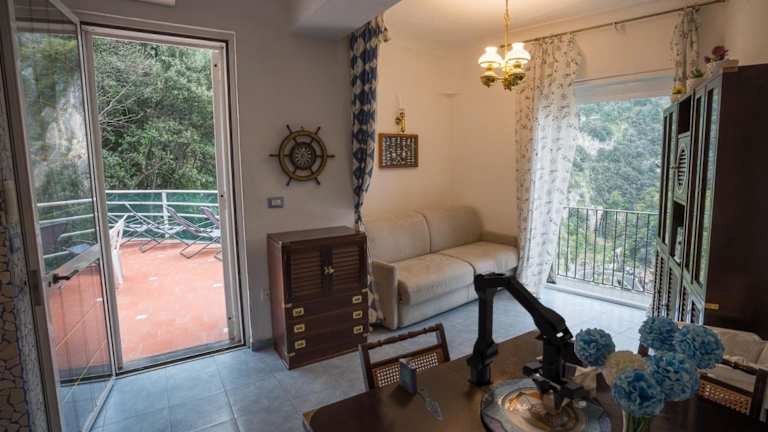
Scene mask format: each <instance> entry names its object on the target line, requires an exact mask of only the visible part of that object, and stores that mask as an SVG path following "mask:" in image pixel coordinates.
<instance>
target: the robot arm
mask: <svg viewBox="0 0 768 432" xmlns="http://www.w3.org/2000/svg"><path fill="white" fill-rule="evenodd" d="M473 287H474V289H473V290H474V291H475V293H476V295H477V297H478V298H477V299H478V305H477V306H478V307H477V309H478V310H477V311H478V312H477V313H478V315H477V337H476V340H475V342H474V344H473V348H472V352H471V353H472V355H470V356H469V357H468V358H466V359H465V362H466V365H467V367H469V368H470V369H469V370H470V377H467V380H468V381H469V382H471V383H472V384H474V385H475V386H477V387H479V388H480V387H481V388H482V387H483V386H484V387H485V386H487V385H491V384H493V383H494V380H493V379H492V367H491V364H492V363H494V360H495V359H496V358H497V357H498V355H499V354H500V353H499V346H500V344H499V343H498V342H496V341H495V340H494V338H493V334H494V333H493V332H494V331H493V328H494V327H493V326H494V324H493V323H494V321H493V320H494V298H495V295H496V294H497V291H498V289H499V288H501V289H502V288H503V289H505V291H507V292H508V293H509V294H510V296H511V297H513V298H514V299H515V301H517V302H518V304H519V305H520V306H521V307H522V308H523V309H524V310H525V311H526V312H527V313H528V314H529V315H530V316H531V318H532V320H533V324H534V325H535V327H536V328H537V330H538V331H539V334H538V335H536V336H535V337H534V339H535V340H537V341H540V342H541V356H542V358H541V359H539V363H541V364H542V365H541V364H539V363H537V361H533V362H532V361H531V362H529V363H526V364H524V365H523V366H522V374H523V375H524V376H526V377H528V378H530V377H532V376H533V378H531V381H532V383H534V385H535V387H536V388H537V390H538V392H539V394H540V396H541V398H542V399H543V397H544V394H545V393H547V392H548V391H550V386H549V384H550V382H551V383H553V384H555V385H557V386H558V388H557V387H556V389H554V390H552V392H553V397H554V403H555V407H556V410H560V408H561V405H562V403H563V401H564V399H565V397H566V398H568V399H570V400H571V401H572V400H575V399H578V398H582V397H584V396H585V395H586V389H585V387H584V386H583V385H581V384H579V383H577V382H575V381H570V382H568V381H563V378H565V379H566V378H568V376H573V377H575V374H576V370H577V366H579V367H582V368H585V369H586V368H588V367H589V365H587V364H585V363H584V362H582V361H581V360H579V358H578V357H577V355H576V354H575V352H574V341H575V340H573V339H574V338H575V336H574V335H573V333H572V332H571V330H570V329H569V327H568V326H567V324H566V322H567V321H566V319H565V318H564V317H563V316H562V315H561V314H560V313H558V312H557V311H555V310H554V309H553V308H550V307H548V306H546V305H544V304H543V303H542V302H541V301H540V300H539V299H538V298H537V297H536V296H535V295H533V293H532V292H531V291H529V289H528V288H527V287H525V286H524V285H523V284H522V283H521V281H519V279H518V278H517V276H516V275H515V274H513V273H504V272H496V271H493V270H486V271H483V272H479V273H477V274H476V275H475V276H474V277H473ZM559 334H562V335H560V336H558V335H559ZM575 365H576V366H575Z"/></svg>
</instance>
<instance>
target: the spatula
mask: <svg viewBox="0 0 768 432" xmlns="http://www.w3.org/2000/svg"><path fill="white" fill-rule="evenodd" d="M552 391H553V390H552V389H549V391H548V392H547V393H545V394H544V397H543V398H542V401H543V405H542V406H543V409H542V410H543V411H545V412H547V413H549V414H550V415H553V416H555V415H557V414H558V413H559V412H561V411H562V407H564V406H565V405H566V404H568V403H569V402H572V400H570V399H568V398H566V397H565V399H564V401H563V403H562V405H561V408H560V410H556V407H555V403H554V397H553V392H552Z"/></svg>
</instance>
